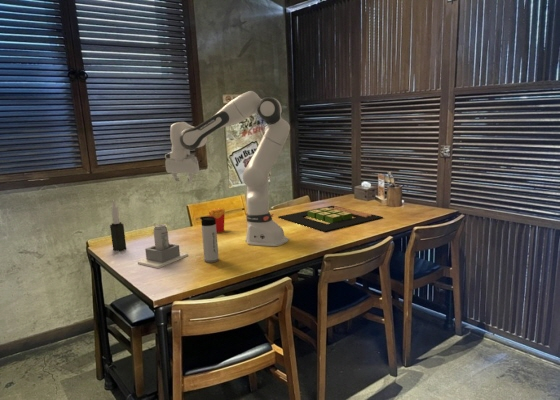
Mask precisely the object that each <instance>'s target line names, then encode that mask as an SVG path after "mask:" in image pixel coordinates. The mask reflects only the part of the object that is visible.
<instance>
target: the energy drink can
mask: <svg viewBox="0 0 560 400" xmlns="http://www.w3.org/2000/svg"><path fill="white" fill-rule="evenodd" d="M153 239H154V246H155V249H156V250H160V251H162V250H165V249H168V248H169V244H170V242H169V231H168V227H167V226H166V224H164V223H163V224H160V223H159V224H156V225H154V228H153Z"/></svg>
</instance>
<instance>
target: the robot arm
mask: <svg viewBox="0 0 560 400" xmlns="http://www.w3.org/2000/svg"><path fill="white" fill-rule="evenodd" d="M253 115H258V116H259V117H260V118H261V119H262V120H263V121H264V123H266V125H267V127H266V130H265V132H264V134H263V136H262V137H261V139H260V142H259V143H258V146H257V148H255V151H254V153H253V155H252V156H251V158H250V160H249V162H248V164H247V165H246V167H245V169H244V170H243V173H242V180H243V181H242V182H243V183H244V184H245V186H246V223H247V229H246V235H245V236H246V237H245V242H247V245H252V246H263V247H278V246H282V245H285V244H286V243H288V242H289V240H290V237H288V236H285V233H284V229H283V227H281V226H280V225H279V224H278V223H277V222H276V221H274V220H273V217H274V214H271V213H270V212H271V211H270V209H269V208H270V207H269V205H270V204H269V174H270V172H271V170H272V168H273V167H274V165H275V163H276V161H277V159H278V157H279V156H280V154H281V151H282V150H283V148H284V146H285V144H286V143H287V139H288V137H289V133H290V130H291V126H290V124H289V122H288V121H287V120H285V119H284V118H283V117H282V115H283V106H282V104H281V102H280V101H279V100H278V99H277V98H275V97H270V96H269V97H263V98H261V97H260V96H259V94H258V93H256V92H255V91H253V90H249V91H246V92H244V93H241V94H240V95H237V96H236V97H234V98H233V99H232V100H230V101H229V102H227V103H226V104H225V105H224V106H223V107H221V108H220V109H219V110H218V111H217V112H216V113H215V114H214V115H212V116H211V117H210V118H208V119H207V120H205V121H203V122H202V123H200V124H199V125H197V126H193V125H191V124H189V123H187V122H186V121H177V122H174V123H172V124H171V125H170V130H169V131H170V132H169V134H170V142H171V151H169V152H168V153H166V154H164V158H165V163H164V164H165V171H166V172H167V174H170V173H171V175H172V178H174V182H176V183H179V182H180V178H179V177H178V174H188V176H189V177H188V178H187V182H188V183H191V184H192V183H193V178H194V176H195V174H199V173H200V166H199V161H198V157H197V156H196V155H194V154H191V151H193V150H195V149H198V148H201V147H204V146H205V145H206V144H207V143H208V140H209V139H208V138H209V136H210V135H212V133H214V132H216V131H217V130H220V129H222V128H226V127H230V126H234V125H238V124H239V123H241V122H244V121H245V120H247V118H250V117H251V116H253Z"/></svg>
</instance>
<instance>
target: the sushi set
mask: <svg viewBox="0 0 560 400" xmlns="http://www.w3.org/2000/svg"><path fill="white" fill-rule="evenodd" d="M306 216H308V217H306ZM310 217H311V218H310ZM277 218H278V219H280V218H281V219H280V220H283V219H284V221H287V222H290V223H294V224H296V223H297V225H299V224H300V226H303V225H304V227H306V226H307V227H306V228H309V227H310V229H312V228H313V230H315V231H319V232H322V233H329V232H333V231H338V230H340V229H341V230H342V229H345V228H350V227H353V226H357V225H361V224H365V223H370V222H374V221H379V220H381V219H384V216H381V215H377V214H372V213H367V212H364V211H363V212H362V211H358V210H354V209H349V208H345V207H340V206H336V205H329V206H324V207H318V208H314V209H308V210H304V211H299V212H295V213H290V214H288V213H287V214H284V215H278V217H277ZM313 218H316V219H315V220H314V219H313ZM317 219H318V220H317ZM321 220H322V221H321Z"/></svg>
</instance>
